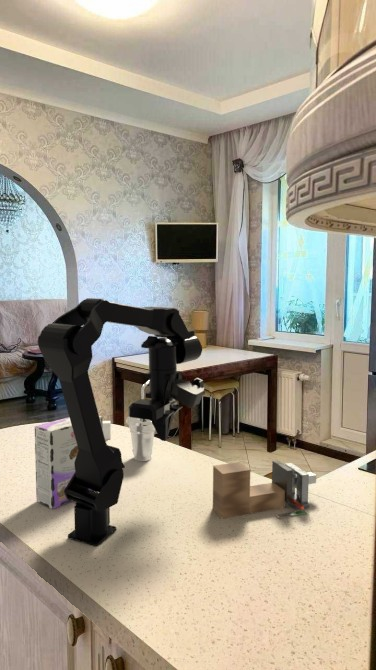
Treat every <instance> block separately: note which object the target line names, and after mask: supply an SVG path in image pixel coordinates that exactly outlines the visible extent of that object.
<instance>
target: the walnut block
mask: <svg viewBox="0 0 376 670" xmlns="http://www.w3.org/2000/svg"><path fill="white" fill-rule="evenodd" d="M212 467H213V468H212V510H214V512H215V513H216V514H217V515H218V516H219V517H220V519H225V518H226V517H227V518H233V517H238V516H243V515H250V514H255V513H260V512H266V511H272V510H278V509H283V508H285V504H286V502H285V491H284V490H283V489H282V488H280V487H279V486H278V485H276V484H275V483H272V482H267V483H261V484H255V485H251V469H250V468H249V467H247V466H246V465H245V464H243V463H242V462H241V461H238V462H237V461H236V462H231V463H225V464H224V463H223V464H216V465H212ZM227 518H226V519H227Z"/></svg>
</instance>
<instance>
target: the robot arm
mask: <svg viewBox="0 0 376 670" xmlns="http://www.w3.org/2000/svg"><path fill="white" fill-rule="evenodd" d="M106 323H110V324H116V325H117V324H118V325H125V326H131V327H135V328H137V329H138V330H139V331H141V332H143V333H146V334H149V335H148V336H147V338H146V340H144V341H143V342H142V343H141V348H143V349H148V371H147V372H145V373H144V377H145V379H148V380H149V384H148V389H149V391H147V392H145V398H146V399H145V398H144V399H141V398H140V399H137V400H136V401H134V402H132V403H131V404H130V405H129V406H128V417H132V418H140V419H147V420H150V421H151V422H152V424H153V426H154V428H155V433H157V435H158V437H159V439H160V440H161V441H163V442H165V441H167V440H168V437H169V433H170V431H171V426H172V423H173V419H174V416H175V414H176V413H177V412H179V410H181V409H182V408H183V407H184V406H185V407H186V408H190V409H194V407H195V406H197V405H200V403H201V399H202V397H203V395H205V394H206V391H205V387H204V380H203V379H201V378H199V377H196V378H194V379H193V380H192V381H191V380H184V379H183V377H182V373H181V370H177V365H180V364H184V363H188V362H192V361H195V360H198V359H199V358H200V357H201V355H202V353H203V345H202V342H201V341H200V339H199V338H198V337H197V336H195V330H193V329H190V330H189V329H188V327H187V325H186V324H185V322H184V320H183V318H182V316H181V315H180V310H178V308H175V307H162V306H144V307H143V306H142V307H141V306H135V305H129V304H125V303H119V302H113V301H109V300H108V299H105V298H92V297H89V298H86V299H85V298H84V299H82V300H81V301H80V302H79V303H78V304H77V305H76V306H75V307H73V308H71V310H69V311H67V312H65V313H64V314H62V315H60V316H58V317H57V318H56V319H54V321H53V322H52V323H49V324H47V325H46V326H44V327H43V329H42V330H41V332H40V334H39V335H38V337H37V346H38V348H39V351H40V353H41V355H42V357H43V360H44V362H45V363H46V365H47V366H48V367H49V368H50V369H51V371H52V372H53V373H54V375H55V376H56V377H57V378H58V380H59V383H60V387H61V391H62V395H63V398H64V401H65V402H64V403H65V405H66V406H65V407H66V408H67V409H66V410H67V413H68V417H70V421H71V424H72V428H73V431H74V435H75V439H76V442H77V446H78V453H77V456H76V459H75V462H74V464H75V473H74V475H73V477H72V478H71V480H70V481H69V483H68V485H67V486H66V488H65V490H64V493H65V496H66V499H67V500H71V502H74V503H75V505H74V507H73V510H74V529H73V530H72V531H71V532H69V533H68V534H67V539H69V540H70V539H71V540H74V541H77V542H81V543H84V544H88V545H92V546H99V545H100V544H101V543H103V542H104V541H105V540H106V539H108V538H109V537H110V536H111V535H112V534H114V533H115V531H117V526H114V525H111V524H110V523H111V521H110V519H111V518H110V511H111V507H113V506H115V505H117V504H119V503H118V502H119V498H120V494H121V490H122V485H123V480H124V475H125V474H124V469H125V468H126V466H125V464H124V463H123V459H122V452H121V450H120V448H118V447H115V446H111V445H108V443H107V441H106V440H105V438H104V434H103V430H102V426H101V422H100V418H99V416H100V415H99V410H98V406H97V403H96V399H95V395H94V392H93V391H94V390H93V386H92V383H91V379H90V375H89V369H90V366H91V362H92V360H93V348H92V346H93V345H94V344H95V343H96V342H97V341H98V340H99V338H100V337H101V336H102V332H103V329H104V325H105V324H106ZM153 335H154V336H153ZM178 402H179V403H180V404H178ZM182 404H183V405H182ZM89 489H91V490H89ZM92 490H94V491H92Z"/></svg>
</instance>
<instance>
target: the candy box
mask: <svg viewBox="0 0 376 670" xmlns="http://www.w3.org/2000/svg"><path fill="white" fill-rule="evenodd" d="M99 418H100V422H101V426H102V421H103V416H101V415H99ZM102 430H103V427H102ZM34 451H35V452H34V455H35V485H36V486H35V488H36V490H35V491H36V494H35V495H36V502H37V503H39V504H41V505H44V506H45V507H46V508H49V509H50V510H53V509H56V508H58V507H61V506H63V505H66V504H68V503H70V502H72V501H71V500H67V499H66V496H65V493H64V490H65V488H66V486H67V485H68V483H69V481H70V480H71V478H72V477H73V475H74V473H75V464H74V462H75V459H76V456H77V453H78V446H77V442H76V439H75V435H74V431H73V428H72V424H71V421H70V417H69V416H68V417H64V418H62V419H57V420H52V421H50V422H45V423H42V424H38V425H35V426H34ZM89 490H91V489H89ZM92 491H94V490H92ZM94 492H95V491H94Z"/></svg>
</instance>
